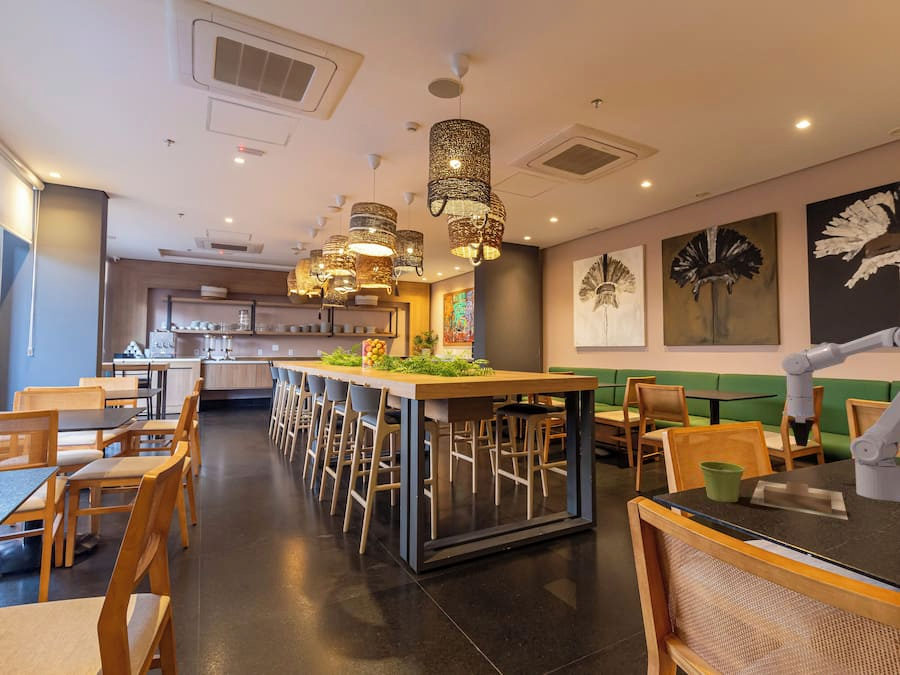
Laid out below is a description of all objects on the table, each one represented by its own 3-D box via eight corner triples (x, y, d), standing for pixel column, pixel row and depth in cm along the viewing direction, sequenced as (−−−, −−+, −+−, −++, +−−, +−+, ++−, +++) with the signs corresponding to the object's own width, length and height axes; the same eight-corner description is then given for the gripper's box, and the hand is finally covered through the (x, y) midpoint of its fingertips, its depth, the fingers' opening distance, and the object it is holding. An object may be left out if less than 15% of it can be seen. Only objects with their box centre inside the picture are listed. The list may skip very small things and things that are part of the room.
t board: (841, 496, 110) (841, 492, 110) (848, 524, 91) (847, 519, 91) (759, 484, 121) (759, 480, 121) (750, 507, 102) (749, 502, 102)
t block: (829, 500, 104) (829, 487, 104) (831, 514, 95) (831, 500, 95) (767, 490, 111) (767, 478, 112) (763, 502, 102) (763, 489, 102)
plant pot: (753, 510, 100) (752, 471, 100) (708, 507, 102) (707, 470, 102) (735, 497, 109) (734, 462, 110) (694, 495, 111) (693, 460, 111)
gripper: (783, 394, 130) (784, 440, 129) (780, 397, 119) (782, 448, 118) (814, 395, 126) (815, 443, 125) (814, 399, 114) (816, 451, 114)
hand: (801, 445), depth 121 cm, fingers closed
